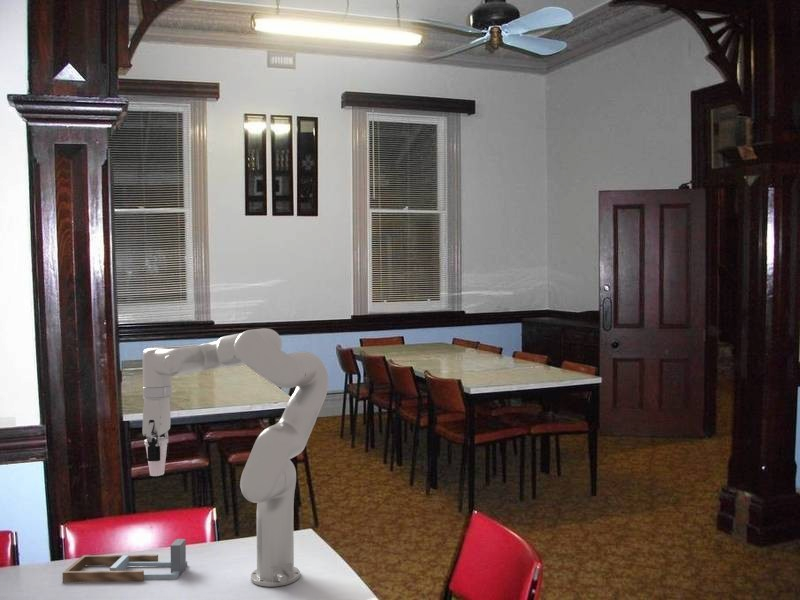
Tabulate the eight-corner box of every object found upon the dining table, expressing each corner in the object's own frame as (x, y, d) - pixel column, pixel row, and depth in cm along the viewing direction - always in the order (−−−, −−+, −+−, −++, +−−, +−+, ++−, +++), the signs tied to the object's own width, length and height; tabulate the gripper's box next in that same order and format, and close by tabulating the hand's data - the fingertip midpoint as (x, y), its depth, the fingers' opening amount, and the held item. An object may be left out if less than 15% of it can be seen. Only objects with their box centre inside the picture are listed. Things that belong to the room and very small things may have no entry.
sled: (188, 565, 197) (187, 536, 197) (177, 578, 188) (177, 548, 188) (123, 566, 197) (122, 536, 197) (109, 579, 188) (109, 549, 188)
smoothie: (164, 477, 195) (163, 425, 195) (141, 477, 195) (140, 426, 195) (172, 471, 202) (171, 421, 201) (149, 471, 202) (148, 421, 201)
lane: (158, 563, 199) (158, 554, 199) (142, 581, 187) (142, 571, 186) (83, 564, 199) (83, 555, 199) (62, 582, 186) (62, 572, 186)
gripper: (154, 388, 207) (155, 451, 207) (132, 397, 190) (133, 465, 190) (180, 388, 207) (181, 451, 207) (160, 397, 190) (161, 465, 190)
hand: (158, 457), depth 198 cm, fingers closed on smoothie, 6 cm apart
